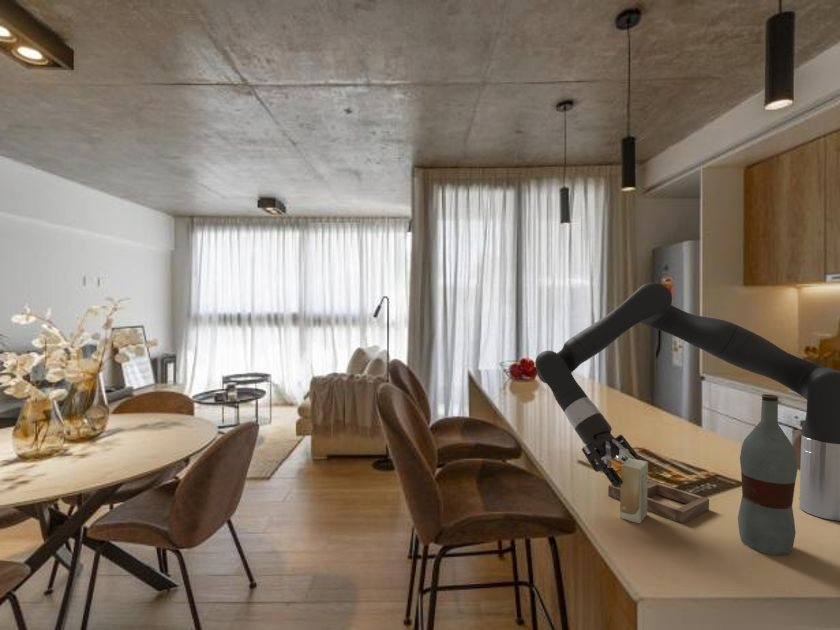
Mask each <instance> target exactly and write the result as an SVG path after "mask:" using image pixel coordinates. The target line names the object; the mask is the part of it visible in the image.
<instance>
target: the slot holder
mask: <svg viewBox="0 0 840 630" xmlns="http://www.w3.org/2000/svg"><path fill="white" fill-rule="evenodd" d="M607 487H608V490H607V492H608V493H607V494H608V495H607V496H608V497H610V498H614V499H616V500H619V501H620V492H621V485H620V486H618V487H614V486H613V484H612V483H611V484H609V485H608V486H607ZM657 495H659V496H662V497H663V498H664V497H665V498H667V499H671V500H673V501H676V502H679V503H682V504H685V505H682V506H680V507H679V508H678V507H676V506H673V505H670V504H667V503H666V502H665V503H664V502H662V501H659V500H656V499H653V498H652V497H655V496H657ZM709 509H710V499H709V498H708V497H704V496H701V495H698V494H694V493H692V492H689V491H686V490H684V489H683V490H682V489H679V488H676V487H673V486H669V485H667V484H663V483H660V482H658V481H654V480H651V479H648V483H647V512H651V513H654V514H656V515H660V516H662V517H664V518H667V519H671V520H673V521H674V522H678V523H681V524H685V523H686V522H688V521H690V520H692V519H693V518H696V517H697V516H700V515H701V514H703V513H705V512H707V511H709Z"/></svg>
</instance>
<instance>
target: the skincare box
mask: <svg viewBox="0 0 840 630" xmlns="http://www.w3.org/2000/svg"><path fill="white" fill-rule="evenodd" d="M648 467H649V462H648V461H646V460H640V459H636V458H635V459H631V458H628V459H627V460H626V461H625V462H624V463H623V462H622V463H621V465H620V478H621V480H622V482H623V483H622V484H621V492H620V500H619V503H620V504H619V518H620V519H623V520H626V521H629V522H632V523H636V524H641V522H642V521H643V520H644V519H645V517H646V516H647V514H648V510H647V483H648V480H649V479H648V477H649V476H648V475H649V468H648Z"/></svg>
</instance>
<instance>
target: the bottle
mask: <svg viewBox="0 0 840 630" xmlns="http://www.w3.org/2000/svg"><path fill="white" fill-rule="evenodd" d="M779 398H780V397H779V396H778V395H775V394H771V393H770V394H769V393H766V394H765V393H762V395H761V407H760V408H761V409H760V411H761V412H760V421H759V422H758V423H757V424H756V425H755V427H754V428H753V429H752V431H750V432H749V434H748V435H747V436H746V437H745V438H744V439H743V441H742V445H741V448H740V455H739V464H740V473H741V492H742V493H741V494H742V496H741V500H740V505H739V508H738V509H739V510H738V515H737V523H738V524H737V525H738V531H739V532H738V533H739V537H740V540H741V542H742V543H743V544H744V545H746V546H747V547H748V548H750V549H753V550H755V551H758V552H760V553H764V554H766V555H767V554H769V555H773V556H787V555H789V554H790V553H791V552H792V550H793V547H794V544H795V539H796V538H795V537H796V533H797V532H796V525H795V516H794V510H793V502H794V497H795V496H794V495H795V488H796V487H795V486H796V482H797V481H796V480H797V479H796V478H797V474H798V470H799V469H798V468H799V467H798V460H797V459H798V458H797V453H796V450H795V447H794V445H793V444H792V442H791V441H790V440H789V438H788V437H787V435H786V433H785V432H784V430H783V429H782V427H781V426H780V424H779V423H778V422H779V421H778V420H779V419H778V418H779V414H778V413H779V408H778V407H779Z"/></svg>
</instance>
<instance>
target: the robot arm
mask: <svg viewBox="0 0 840 630" xmlns="http://www.w3.org/2000/svg"><path fill="white" fill-rule="evenodd" d="M672 302H673V295H672V292H671V290H670V289H669V287H667V286H666V285H664V284H663V283H660V282H648V283H645V284H643V285H641V286H639V287H638V288H637V289H636V290H635V291H634V292H633V293H632V294H631V295H630V296H629V297H628V298H627V299H625V300H624V301H623V302H622V303H621V304H620V305H618V306H617V307H616V308H615V309H613V310H611V311H610V312H608V314H606V315H605V316H603V317H602V318H600V319H598V320H597V321H595V322H594V323H592V324H591V325H590V326H588V327H586V328H584V329H583V330H582V331H580V332H577V334H575V335H574V336H572V337H570V338H569V339H568V340H567V341H565V342H564V344H563V346H562V348H561V350H559V351H558V352H555V351H553V350H544V351H542V352H540V353H539V354H538V355H537V356H536V359H535V364H534V366H535V370H536V374H537V377H538V378H539V379H540V381H541V382H542V383H544V384H546V385H547V386H548V387H549V388H550V390H551V391H552V393H553V397H554V398H555V401H556V402H557V404H558V405H559V407H560V408H561V411H563V412H564V415H565V416H566V419H567V420H568V421H569V423H570V425H571V426H572V428H573V429H574V431H575V432H576V434H577V435H578V437H579V438H580V439H581V441H582V443H583V444H584V445H585V446H583V447H582V448H581V450H582V452H583V454H584V456H585V458H586V459H587V461H588V462H589V464H590V465H591V467H592V468H593V470H594V471H595V472H601V473H602V474H604V475H605V476H606V478H607V480H608V481H609V482H610V483H611V485H612V484H613V486H614V487H618V486H620V485H621V484H622V483H623V482H622V480H621V476H620V475H619V474H618V472H617V471H616V470H615V468H614V467H612V462H611V461H612V460H613V459H615V461H620V462H622V464H623V463H624V462H625V461H626V460H627V459H628V458H631V459H636V457H637V456H638V453H637V452H636V451H635V450H634V448H633V447H632V446H631V444H630V443H629V441H627V439H626V437H624V436H623V434H619V435H617V436H616V437H615V436H614V435H612V433H611V432H612V430H613V429H612V426H611V424H610V423H609V422H608V421H607V419H606V418H605V416H604V415H603V414H602V412H601V411H600V410H599V408H598V407H597V406H596V404H595V403H594V402H593V401H592V400H591V399H590V398H589V396H588V395H587V394H586V393H585V390H583V388H582V386H580V384H579V383H578V382H577V381H576V379H575V377H574V375H573V373H574V371H575V370H576V369H577V368H578V367H579V366H581V364H583V363H585V362H586V361H588V360H590V359H592V358H593V357H595V356H596V355H597V354H599V353H601V352H602V351H603V350H605V349H607V347H608V346H610V345H611V344H612V343H613V342H614V341H616V340H617V339H618V338H620V337H621V336H622V335H623V334H624V333H625V332H627V331H629V330H630V329H631V328H633V327H634V326H636V325H638V324H639V323H640V324H642V325H645V326H647V327H651V328H653V329H655V330H659V331H660V332H663V333H666V334H669V335H672V336H674V337H676V338H678V339H680V340H682V341H684V342H686V343H688V344H690V345H692V346H695V347H697V348H698V349H700V350H702V351H705V352H706V353H708V354H710V355H712V356H714V357H715V358H717V359H720V360H722V361H724V362H726V363H729V364H730V365H733V366H735V367H737V368H740V369H743V370H744V371H748V372H751V373H754V374H756V375H759V376H762V377H763V376H764V377H766V378H769V379H771V380H773V381H775V382H777V383H779V384H781V385H782V386H785V387H786V388H788V389H789V390H792V391H793V392H795V393H796V394H797V395H799V396H801V397H803V398H804V399H805V400H806V410H805V411H806V414H805V420H804V422H803V423H802V425H801V439H800V440H801V445H800V469H799V471H800V472H799V474H800V475H799V496H798V497H799V498H798V499H799V502H798V503H799V504H798V506H799V507H798V508H799V509H800V510H802V511H804V512H805V513H807V514H809V515H812V516H815V517H817V518H818V517H819V518H822V519H826V520H831V521H839V522H840V371H839V370H836V369H833V368H831V367H827V366H824V365H820V364H816V363H814V362H812V361H809V360H806V359H804V358H800V357H798V356H795V355H793V354H791V353H789V352H787V351H785V350H784V349H782V348H780V347H779V346H777V345H776V344H774V343H773V342H771V341H770V340H768V339H766V338H764V337H763V336H761V335H758V334H757V333H755V332H753V331H751V330H749V329H746V328H744V327H742V326H741V325H738V324H736V323H733V322H730V321H728V320H725V319H720V318H714V317H708V316H702V315H696V314H693V313H689V312H687V311H684V310H682V309H680V308H678V307H676V306H674V305H672V304H673V303H672ZM628 451H629V452H628ZM596 462H597V463H596Z"/></svg>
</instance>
